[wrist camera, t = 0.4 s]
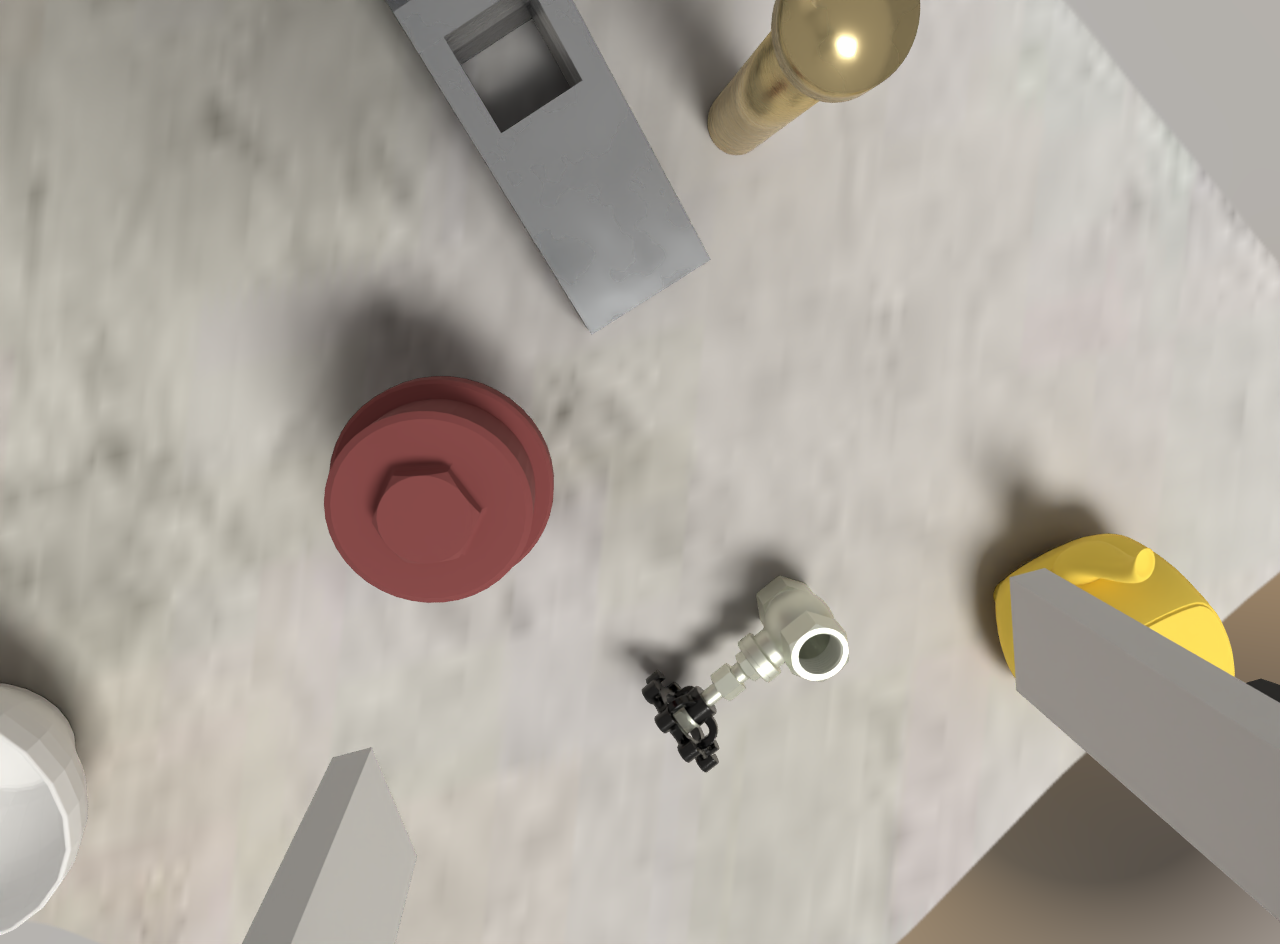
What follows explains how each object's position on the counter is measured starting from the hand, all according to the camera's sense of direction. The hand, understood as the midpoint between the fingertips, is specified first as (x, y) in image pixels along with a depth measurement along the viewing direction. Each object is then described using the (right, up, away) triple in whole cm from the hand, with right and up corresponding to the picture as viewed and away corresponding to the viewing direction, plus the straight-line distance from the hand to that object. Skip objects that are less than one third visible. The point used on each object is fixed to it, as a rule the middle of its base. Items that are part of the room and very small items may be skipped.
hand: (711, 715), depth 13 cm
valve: (+5, -6, +30) cm, 31 cm away
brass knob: (+4, +24, +21) cm, 32 cm away
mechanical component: (-11, +6, +25) cm, 28 cm away
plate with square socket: (-8, +24, +20) cm, 32 cm away
